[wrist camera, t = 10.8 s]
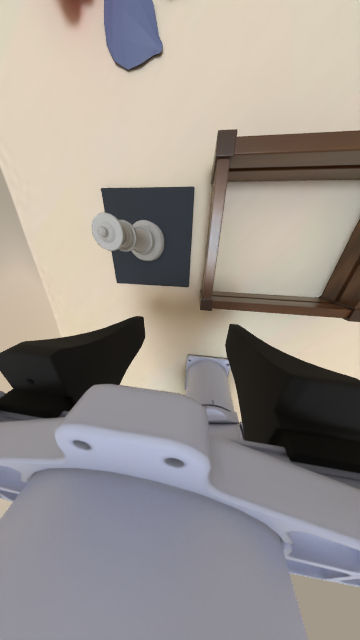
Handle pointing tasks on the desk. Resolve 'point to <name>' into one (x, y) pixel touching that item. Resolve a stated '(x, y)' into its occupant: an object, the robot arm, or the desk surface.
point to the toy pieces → (131, 31)
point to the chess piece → (128, 236)
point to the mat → (175, 223)
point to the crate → (272, 165)
